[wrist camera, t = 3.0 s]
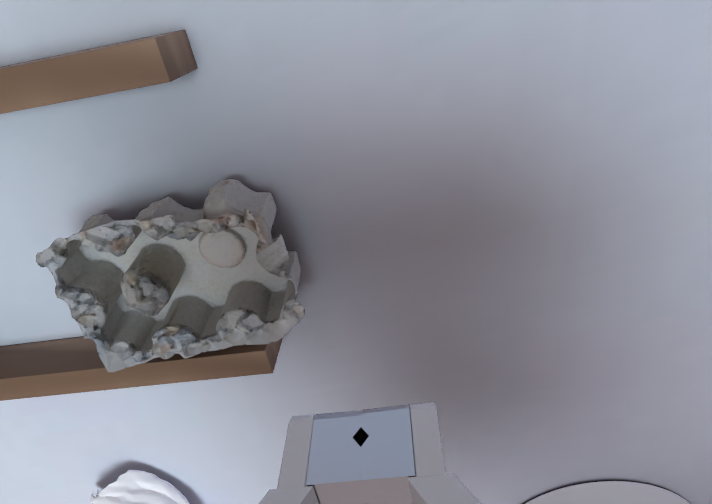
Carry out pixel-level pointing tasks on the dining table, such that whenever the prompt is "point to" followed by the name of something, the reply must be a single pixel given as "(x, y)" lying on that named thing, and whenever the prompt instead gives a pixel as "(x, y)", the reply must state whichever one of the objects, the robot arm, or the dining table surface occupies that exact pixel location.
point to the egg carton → (179, 278)
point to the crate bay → (78, 355)
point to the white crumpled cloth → (139, 490)
